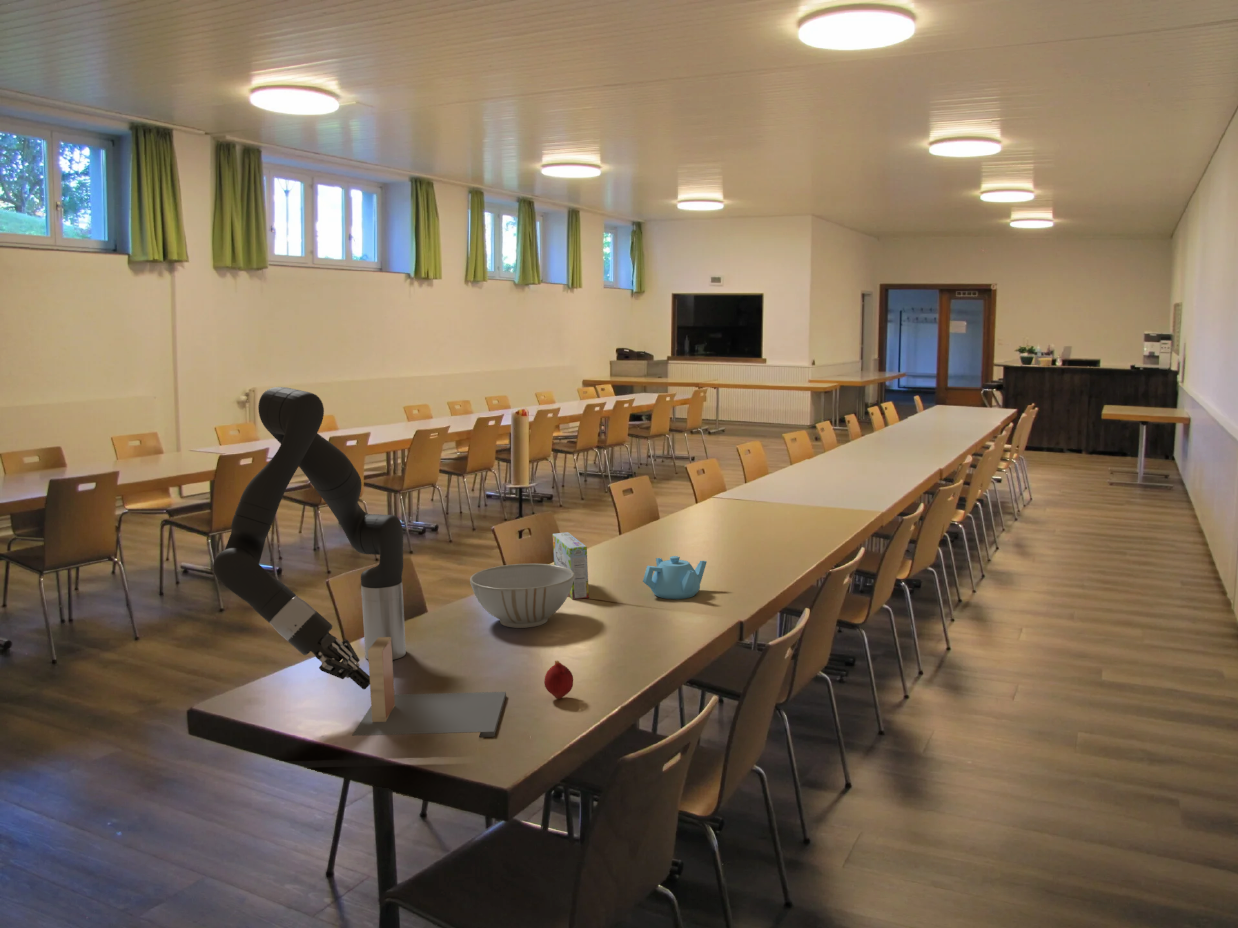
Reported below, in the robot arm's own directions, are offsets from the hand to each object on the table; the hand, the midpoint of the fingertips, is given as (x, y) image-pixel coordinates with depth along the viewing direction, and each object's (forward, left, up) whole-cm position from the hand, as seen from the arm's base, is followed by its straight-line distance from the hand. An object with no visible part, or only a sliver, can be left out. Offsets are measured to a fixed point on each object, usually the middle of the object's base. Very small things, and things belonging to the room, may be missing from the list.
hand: (368, 684), depth 184 cm
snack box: (-93, +35, -7) cm, 100 cm away
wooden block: (0, +3, -6) cm, 6 cm away
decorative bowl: (-63, +24, -7) cm, 68 cm away
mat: (0, +12, -7) cm, 14 cm away
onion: (-8, +36, -7) cm, 38 cm away
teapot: (-86, +65, -7) cm, 108 cm away
